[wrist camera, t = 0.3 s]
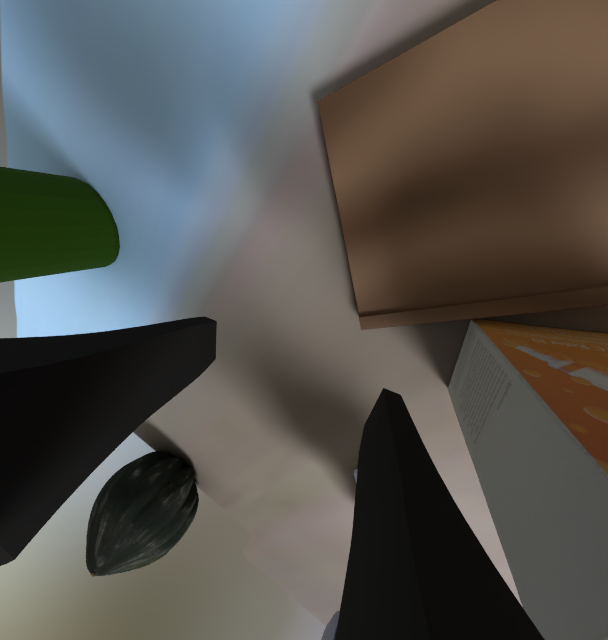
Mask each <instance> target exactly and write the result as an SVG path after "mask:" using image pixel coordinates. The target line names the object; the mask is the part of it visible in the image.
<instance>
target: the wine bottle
mask: <svg viewBox="0 0 608 640" xmlns="http://www.w3.org/2000/svg"><path fill="white" fill-rule="evenodd" d="M118 253H119V235H118V231H117V227H116V224H115V221H114V219H113V216H112V214H111V212H110V210H109V208H108V207H107V205H106V203H105V202H104V200H103V199H102V198H101V197H100V195H99V194H98V193H97V192H96V191H95V190H94V189H93V188H92V187H91V186H90V185H88V184H86V183H84V182H83V181H81V180H78V179H76V178H73V177H66V176H60V175H53V174H46V173H39V172H32V171H26V170H19V169H12V168H5V167H0V282H6V281H13V280H19V279H26V278H33V277H39V276H46V275H53V274H60V273H66V272H73V271H80V270H86V269H93V268H100V267H106V266H108V265H110V264H111V263H113V262H114V261H115V260H116V258H117V256H118Z"/></svg>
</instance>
